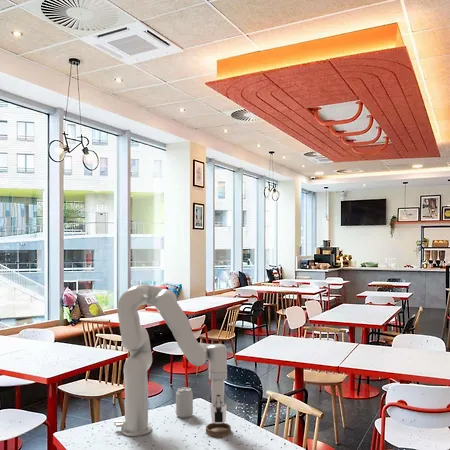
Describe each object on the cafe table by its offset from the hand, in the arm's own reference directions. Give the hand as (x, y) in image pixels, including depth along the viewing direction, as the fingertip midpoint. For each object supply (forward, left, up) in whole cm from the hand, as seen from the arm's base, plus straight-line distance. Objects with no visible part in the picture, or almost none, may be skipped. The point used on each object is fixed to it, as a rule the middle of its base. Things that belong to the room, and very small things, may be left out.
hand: (218, 418), depth 200 cm
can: (-15, +20, -6) cm, 26 cm away
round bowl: (0, 0, -6) cm, 6 cm away
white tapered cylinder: (0, 0, -1) cm, 1 cm away
